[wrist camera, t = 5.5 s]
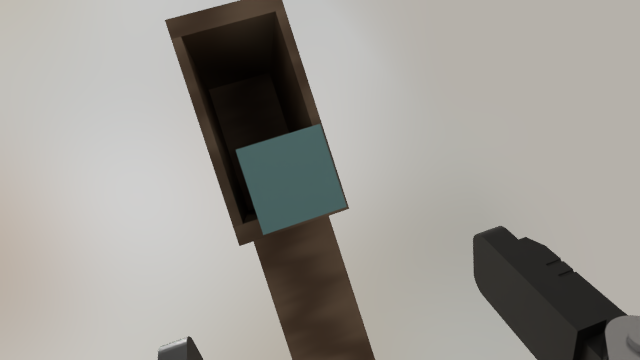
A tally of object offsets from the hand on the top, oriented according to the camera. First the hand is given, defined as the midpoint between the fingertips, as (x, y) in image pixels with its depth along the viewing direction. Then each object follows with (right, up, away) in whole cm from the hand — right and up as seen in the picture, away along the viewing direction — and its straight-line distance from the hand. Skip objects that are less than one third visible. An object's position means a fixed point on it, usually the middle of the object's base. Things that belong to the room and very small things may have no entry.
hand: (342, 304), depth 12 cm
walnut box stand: (+6, -28, +18) cm, 34 cm away
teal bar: (-2, +2, +13) cm, 13 cm away
